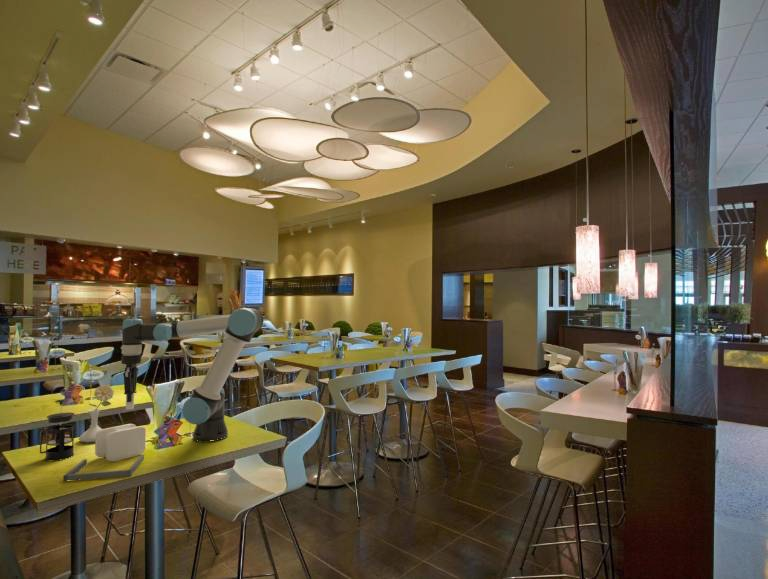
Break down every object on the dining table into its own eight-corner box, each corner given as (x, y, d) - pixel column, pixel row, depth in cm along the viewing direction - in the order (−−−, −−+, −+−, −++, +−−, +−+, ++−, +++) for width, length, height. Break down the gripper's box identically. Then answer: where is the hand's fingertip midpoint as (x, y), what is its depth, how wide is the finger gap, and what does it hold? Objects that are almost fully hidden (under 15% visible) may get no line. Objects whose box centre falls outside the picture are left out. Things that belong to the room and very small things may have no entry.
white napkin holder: (105, 464, 169) (105, 434, 170) (94, 459, 176) (95, 429, 176) (145, 454, 181) (146, 425, 182) (134, 449, 187) (134, 421, 188)
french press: (73, 451, 185) (75, 396, 186) (77, 456, 178) (79, 399, 179) (38, 457, 177) (40, 400, 178) (41, 464, 170) (42, 404, 171)
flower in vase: (77, 446, 192) (79, 388, 193) (79, 439, 202) (81, 384, 203) (112, 441, 198) (113, 385, 199) (113, 435, 208) (114, 382, 209)
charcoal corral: (143, 460, 174) (144, 454, 174) (130, 475, 158) (130, 470, 158) (83, 464, 169) (83, 459, 169) (63, 481, 153) (63, 475, 153)
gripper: (126, 353, 197) (125, 406, 196) (116, 356, 184) (114, 412, 183) (145, 352, 199) (143, 405, 198) (136, 355, 186) (134, 412, 185)
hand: (129, 408), depth 191 cm, fingers closed
